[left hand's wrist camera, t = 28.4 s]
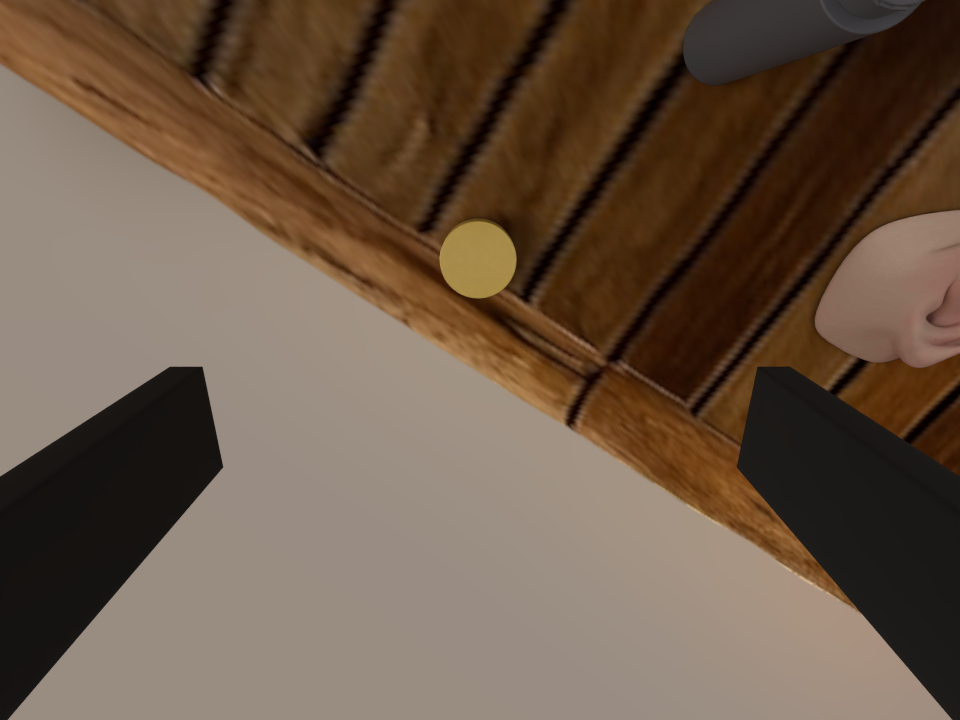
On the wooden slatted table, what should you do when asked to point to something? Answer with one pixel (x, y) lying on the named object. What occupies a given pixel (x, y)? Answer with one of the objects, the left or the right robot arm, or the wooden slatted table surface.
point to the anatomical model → (898, 293)
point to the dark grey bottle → (778, 32)
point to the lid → (478, 258)
